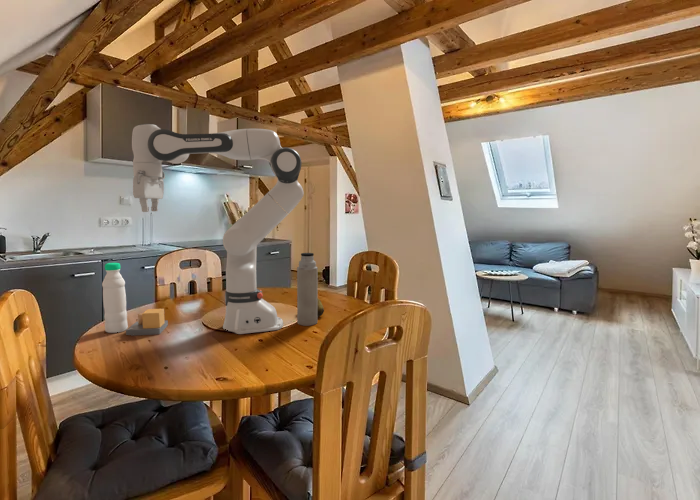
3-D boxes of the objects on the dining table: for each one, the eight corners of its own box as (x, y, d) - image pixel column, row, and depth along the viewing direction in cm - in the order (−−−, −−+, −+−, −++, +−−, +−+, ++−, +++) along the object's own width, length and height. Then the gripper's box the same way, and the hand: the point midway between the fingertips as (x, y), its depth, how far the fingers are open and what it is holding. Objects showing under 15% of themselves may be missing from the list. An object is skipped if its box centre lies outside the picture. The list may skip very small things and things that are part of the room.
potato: (304, 319, 153) (304, 300, 152) (301, 310, 166) (301, 293, 165) (324, 318, 155) (325, 299, 154) (319, 309, 168) (319, 292, 167)
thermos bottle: (302, 318, 154) (302, 251, 151) (320, 320, 152) (320, 252, 148) (293, 324, 147) (293, 253, 143) (312, 326, 144) (312, 254, 141)
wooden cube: (164, 322, 140) (163, 308, 140) (159, 327, 135) (159, 312, 134) (148, 323, 139) (147, 309, 139) (143, 328, 134) (142, 313, 133)
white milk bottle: (117, 334, 133) (112, 265, 130) (100, 332, 135) (95, 264, 132) (132, 328, 140) (128, 262, 137) (116, 326, 141) (112, 261, 138)
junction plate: (167, 325, 144) (167, 310, 143) (159, 334, 134) (158, 317, 133) (136, 326, 142) (136, 311, 141) (126, 335, 132) (125, 319, 131)
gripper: (147, 169, 122) (149, 212, 123) (166, 174, 142) (167, 211, 143) (126, 169, 121) (128, 212, 122) (148, 174, 140) (150, 211, 142)
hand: (150, 211), depth 133 cm, fingers open, 8 cm apart
